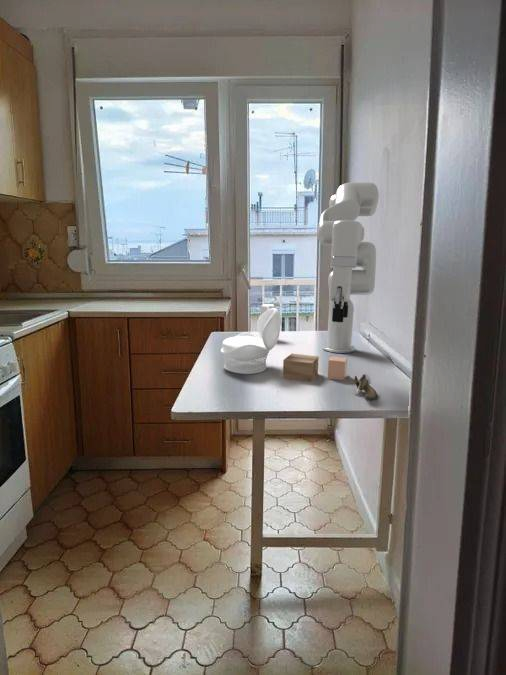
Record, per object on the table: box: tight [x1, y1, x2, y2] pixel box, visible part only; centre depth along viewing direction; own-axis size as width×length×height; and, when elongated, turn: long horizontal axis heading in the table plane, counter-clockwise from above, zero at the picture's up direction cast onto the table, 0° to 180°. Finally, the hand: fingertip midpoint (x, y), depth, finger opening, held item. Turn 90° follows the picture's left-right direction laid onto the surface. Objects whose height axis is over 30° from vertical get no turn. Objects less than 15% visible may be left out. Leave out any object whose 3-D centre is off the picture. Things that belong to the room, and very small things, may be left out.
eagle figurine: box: [347, 373, 379, 402], centre depth 123 cm, size 8×7×9 cm
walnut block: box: [282, 353, 320, 382], centre depth 141 cm, size 9×9×6 cm
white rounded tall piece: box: [259, 303, 277, 338], centre depth 192 cm, size 7×7×15 cm
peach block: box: [327, 356, 348, 381], centre depth 140 cm, size 5×5×6 cm
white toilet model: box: [220, 307, 282, 375], centre depth 147 cm, size 20×20×20 cm
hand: (340, 319), depth 137 cm, fingers open, 9 cm apart
